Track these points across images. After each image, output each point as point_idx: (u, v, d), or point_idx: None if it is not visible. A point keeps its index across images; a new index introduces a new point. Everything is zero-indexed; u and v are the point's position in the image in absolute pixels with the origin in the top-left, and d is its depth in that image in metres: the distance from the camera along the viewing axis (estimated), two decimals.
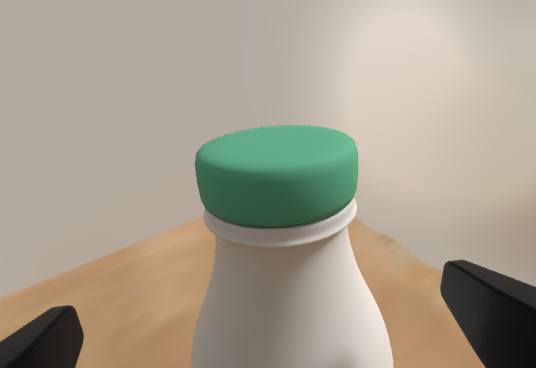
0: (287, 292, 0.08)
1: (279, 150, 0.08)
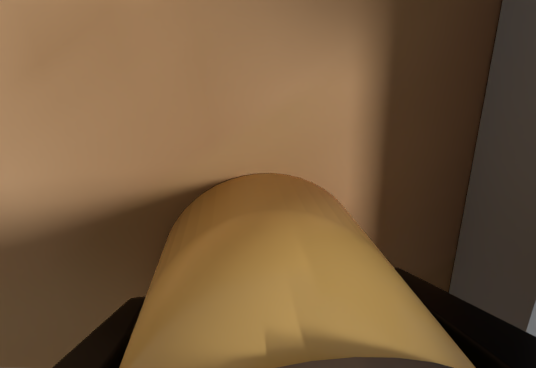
0: None
1: None
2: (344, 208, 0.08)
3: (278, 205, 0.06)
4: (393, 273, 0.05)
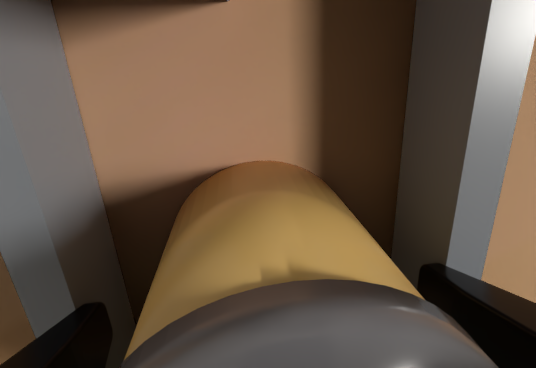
0: None
1: None
2: (334, 192, 0.09)
3: (273, 185, 0.07)
4: (370, 239, 0.06)
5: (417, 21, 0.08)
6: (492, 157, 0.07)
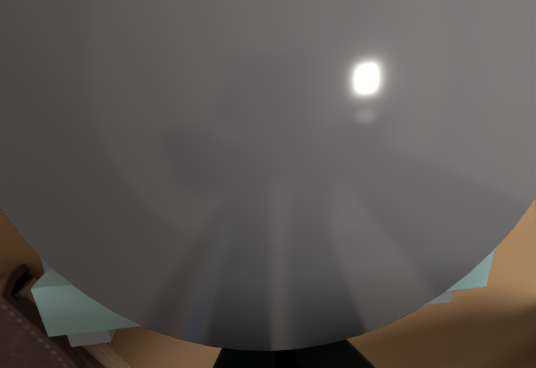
0: None
1: None
2: None
3: None
4: None
5: None
6: None
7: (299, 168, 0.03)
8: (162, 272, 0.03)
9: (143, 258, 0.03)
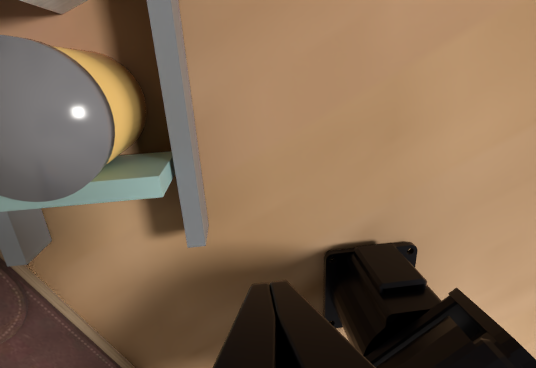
0: None
1: None
2: (123, 68, 0.16)
3: None
4: (92, 61, 0.13)
5: None
6: (174, 85, 0.15)
7: (24, 141, 0.11)
8: None
9: None
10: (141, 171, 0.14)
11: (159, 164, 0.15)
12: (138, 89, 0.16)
